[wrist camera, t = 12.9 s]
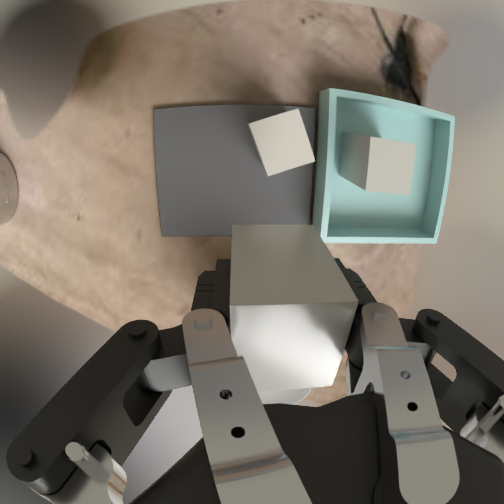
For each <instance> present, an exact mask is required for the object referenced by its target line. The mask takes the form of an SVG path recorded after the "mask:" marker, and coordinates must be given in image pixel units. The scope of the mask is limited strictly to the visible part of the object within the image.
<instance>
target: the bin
mask: <svg viewBox="0 0 504 504" xmlns="http://www.w3.org/2000/svg"><path fill="white" fill-rule="evenodd" d="M454 124H455V117H454V116H451V115H448V114H445V113H442V112H439V111H436V110H433V109H429V108H426V107H422V106H418V105H415V104H411V103H407V102H403V101H399V100H395V99H390V98H386V97H381V96H376V95H371V94H366V93H360V92H354V91H348V90H341V89H334V88H328V89H325V90H322V91H320V92H319V111H318V139H317V160H316V177H315V192H314V205H313V217H312V225H313V226H314V227H315V229H316V230H317V232H318V234H319V235H320V237H321V238H322V240H323V242H324V243H434V244H436V243H437V239H438V235H439V231H440V227H441V222H442V217H443V212H444V207H445V201H446V196H447V190H448V183H449V176H450V169H451V160H452V151H453V140H454ZM342 132H343V133H351V134H359V135H366V136H373V137H379V138H385V139H390V140H395V141H401V142H405V143H410V144H415V145H416V148H415V158H414V167H413V175H412V182H411V189H410V195H404V194H394V193H384V192H372V191H365V190H363V189H361V188H360V187H358V186H356V185H355V184H353V183H351V182H350V181H348V180H346V179H345V178H343V177H341V176H340V175H339V172H340V160H341V146H342Z"/></svg>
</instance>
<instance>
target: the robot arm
mask: <svg viewBox="0 0 504 504" xmlns="http://www.w3.org/2000/svg"><path fill="white" fill-rule="evenodd" d="M17 201H18V184H17V179H16V174H15V172H14V169H13V166H12V165H11V163H10V161H9V160H8V158H7V157H6V156H5V155H4V154H2V153H0V226H1V225H3V224H4V223H6V222H8V221H9V220H10V219H11V218H12V216H13V214H14V213H15V210H16V207H17ZM334 260H335V261H336V263H337V265H338V266H339V268H340V270H341V271H342V273H343V275H344V277H345V278H346V280H347V282H348V283H349V285H350V287H351V289H352V290H353V292H354V294H355V296H356V297H357V299H358V304H357V308H356V312H355V315H354V319H353V322H352V326H351V329H350V333H349V336H348V339H347V342H346V345H345V349H344V352H343V353H347V354H348V358H347V361H346V382H347V397H344V398H342V399H339V400H337V401H334V402H331V403H329V404H326V405H323V406H320V407H309V406H300V405H291V404H283V403H275V404H262V401H261V399H260V397H259V394H258V392H257V389H256V387H255V384H254V382H253V379H252V377H251V374H250V372H249V369H248V367H247V364H246V362H245V359H244V358H243V356H242V355H240V356H238V355H237V352H236V350H235V347H234V344H233V341H232V339H231V326H230V276H231V259H217V264H216V271H204V272H203V273H202V274H201V275H200V276H199V277H198V281H197V286H196V290H195V295H194V299H193V304H192V309H191V312H189V313H188V314H186V315H185V316H184V318H183V320H182V324H181V325H179V326H176V327H174V328H169V329H164V330H158V327H157V326H156V325H155V324H154V323H153V322H151V321H148V320H135V321H131V322H129V323H127V324H125V325H123V326H122V327H121V328H120V329H119V330H118V331H117V332H116V333H115V334H114V335H113V336H112V337H111V338H110V339H109V340H108V341H107V342H106V343H105V344H104V345H103V346H102V347H101V348H100V349H99V350H98V351H97V352H96V353H95V354H94V355H93V356H92V357H91V358H90V359H89V360H88V361H87V362H86V363H85V364H84V366H82V367H81V368H80V370H78V371H77V373H76V374H75V375H74V376H73V377H72V378H71V379H70V380H69V381H68V382H67V383H66V384H65V385H64V386H63V387H62V388H61V389H60V390H59V391H58V392H57V394H56V395H55V396H54V397H53V398H52V399H51V400H50V401H49V402H48V403H47V404H46V405H45V407H43V409H42V410H41V411H40V412H39V413H38V414H37V415H36V416H35V417H34V418H33V419H32V421H31V422H30V423H29V424H28V425H27V426H26V427H25V428H24V429H23V431H22V432H21V433H20V434H19V435H18V436H17V437H16V438H15V440H14V441H13V442H12V443H11V444H10V446H9V448H8V451H7V455H6V458H7V459H6V460H7V465H8V468H9V470H10V471H11V473H12V474H13V475H14V476H15V477H16V478H18V479H19V480H20V481H22V482H23V483H24V484H26V485H27V486H29V487H30V488H31V489H32V490H33V491H34V492H36V493H37V494H39V495H40V496H42V497H44V498H45V499H47V500H49V501H50V502H52V503H54V504H123V500H122V497H123V496H122V495H123V492H124V489H125V487H126V484H127V477H126V474H125V471H124V470H123V468H122V467H121V466H122V465H123V463H124V462H125V460H126V459H127V457H128V456H129V454H130V453H131V452H132V450H133V449H134V447H135V445H136V444H137V443H138V441H139V440H140V438H141V437H142V435H143V434H144V432H145V431H146V430H147V428H148V427H149V425H150V424H151V422H152V421H153V419H154V417H155V416H156V415H157V413H158V412H159V410H160V409H161V407H162V406H163V404H164V402H165V401H166V400H167V398H168V397H169V395H170V394H171V392H172V390H173V389H176V388H181V387H185V386H190V385H192V387H193V392H194V397H195V402H196V407H197V411H198V416H199V420H200V425H201V429H202V433H203V437H202V438H201V439H200V440H199V441H198V442H197V443H196V445H194V447H192V448H191V449H190V450H189V451H188V452H187V453H186V454H185V455H184V456H183V457H182V458H181V459H180V460H179V461H178V462H177V463H175V464H174V465H173V466H172V467H171V468H170V469H169V470H168V471H167V472H166V473H164V474H163V475H162V476H161V477H160V478H159V479H158V480H157V481H155V483H153V484H152V485H151V486H150V487H149V488H148V489H146V490H145V491H144V492H143V493H141V494H140V495H139V496H138V497H137V498H135V499H134V500H133V501H132V502H131V503H129V504H504V361H503V360H502V359H501V358H499V357H498V356H497V355H496V354H494V353H493V352H492V351H491V350H489V349H488V348H487V347H486V346H484V345H483V344H482V343H480V342H479V341H478V340H477V339H475V338H474V337H473V336H471V335H470V334H469V333H467V332H466V331H465V330H463V329H462V328H461V327H459V326H458V325H457V324H455V323H454V322H453V321H451V320H450V319H448V318H447V317H446V316H444V315H443V314H442V313H440V312H438V311H436V310H432V309H423V310H420V311H419V312H418V314H417V316H416V319H415V320H412V319H404V318H398V315H397V313H396V311H395V310H394V309H393V308H391V307H390V306H388V305H386V304H383V303H378V302H377V301H376V300H375V298H374V297H373V295H372V294H371V292H370V291H369V289H368V288H366V285H365V284H364V282H362V279H361V278H360V277H359V275H358V274H357V273H355V272H354V271H352V270H351V269H346V268H345V267H344V265H343V264H342V262H341V261H340V259H339V258H334ZM436 352H437V353H438V354H440V355H441V356H442V357H443V358H444V359H446V360H447V361H448V362H449V363H450V364H452V365H453V366H454V367H455V369H456V372H457V376H456V379H455V380H454V382H452V381H451V380H450V379H449V378H447V377H446V376H445V375H444V374H443V373H442V372H441V371H439V370H438V369H437V368H436V367H435V366H434V365H432V364H431V362H432V360H433V358H434V356H435V354H436ZM440 418H441V419H442V420H443V421H444V422H445V423H446V424H447V425H448V426H449V427H450V428H451V429H452V430H453V431H454V432H453V431H452V430H450V429H448V428H446V427H445V426H443V425H442V424H441V420H440Z"/></svg>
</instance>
